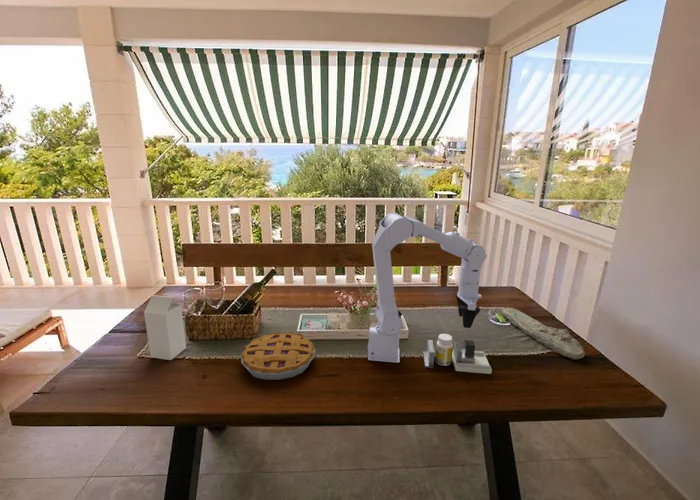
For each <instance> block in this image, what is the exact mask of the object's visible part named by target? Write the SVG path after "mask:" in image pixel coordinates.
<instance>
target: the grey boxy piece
mask: <svg viewBox="0 0 700 500" xmlns="http://www.w3.org/2000/svg"><path fill="white" fill-rule="evenodd" d="M462 346H463V347H461V344H460V342H459V341H454V344H453V349H454V356H455V360H456V363H466V364H475V357H474V352H475V351H476V345H475V342H474V340H469V339H468V340H467V339H463V345H462Z"/></svg>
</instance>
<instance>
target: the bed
mask: <svg viewBox="0 0 700 500" xmlns="http://www.w3.org/2000/svg"><path fill="white" fill-rule="evenodd" d="M474 357H475V364H466V363H456V360H455V356H454V348H453V352H452V363H453V366H454V370H455V371H456V372H465V373H475V374H485V375H486V374H487V375H488V374H489V375H492V371H493V369H492V367H491V364H489V361H488V359H487V356H486V354H485V351H480V350H478V351H477V350H475V352H474Z"/></svg>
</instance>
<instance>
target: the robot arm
mask: <svg viewBox="0 0 700 500" xmlns="http://www.w3.org/2000/svg"><path fill="white" fill-rule="evenodd" d="M378 225H379V226H378V229H377V231H376V234H375V236H374V237H373V239H372V243H371V248H372V249H371V250H372V256H373V258H372V259H373V267H374V275H375V282H376V292H377V301H376V308H375V310H374V311H375V312H374V316H375V318H376V319H377V322H376V326H372V327H369V331H368V332H369V333H368V344H367V351H368V352H367V357H368V358H367V360H368V361H373V362H384V363H385V362H387V363H400V359H401V358H400V357H401V356H400V347H399V346H400V345H399V344H400V332H401V330H402V328H403V320H402V318H401V317H400V315H399V310H398V307H397V303H396V299H395V298H396V297H395V287H394V278H393V267H392V256H391V251H392V250H393V249H394V248H395V247H396V246H397V245H399V244H401V243H403V242H405V241H406V240H407V239H409V238H410V237H411V238H415V237H418V236H421V237H423V238H425V239H426V238H427V239H429V240H431V241H433V242H435V243H439V245H440V249H442V250H443V251H445V252H447V253H449V254H451V255H454V256H456V257H459V258H461V265H460V273H459V279H458V280H459V282H458V291H457V293H455V294H454V297H455V298H456V302H457V307H458V308H457V310H458V315H459V317H462V327H463V328H464V329H465V328H467V329H471V328H472V326H473V324H474V321H475V318H476V317H477V315H478V314H479V313H480V311H481V308H480V307H479V306H477V302H478V300H479V299H482V295H481V293H479V286H480V280H481V279H480V278H481V269H482V266H483V263H484V262H485V261H486V258H487V256H488V254H487V253H486V249H485V248H484V247H483V246H482V245H480V244H478V243H476V242H474V240H473V239H471V238H466V237H464V236H461V233H459V232H458V231H448V232H445V233H444V232H442V231H440V230H438V229H436V228H434V227H432V226H430V225H428V224H426V223H424V222H423V221H420V220H418V219H415V218H413V217H410V216H407V215H400V214H399V213H396V212H389V213H387V214H386V215H385V216H384V217H382V219H381V220H380V221H379V224H378Z"/></svg>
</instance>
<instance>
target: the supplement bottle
mask: <svg viewBox="0 0 700 500" xmlns="http://www.w3.org/2000/svg"><path fill="white" fill-rule="evenodd" d="M435 348H436V349H435V357H434V361H435V363H436V364H438V365H439V366H445V367H447V366H449V365H451V364H452V363H453V359H452V352H453V349H454V344H453V336H452V335H450V334H448V333H440V334H439V335H438V339H437V341H436V347H435Z"/></svg>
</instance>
